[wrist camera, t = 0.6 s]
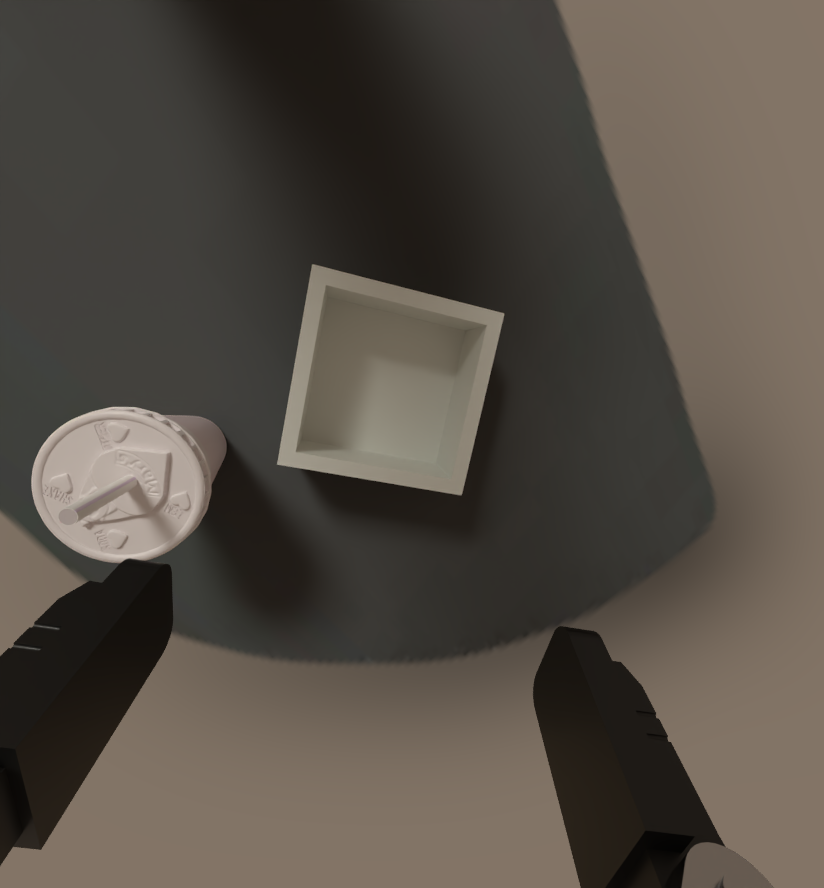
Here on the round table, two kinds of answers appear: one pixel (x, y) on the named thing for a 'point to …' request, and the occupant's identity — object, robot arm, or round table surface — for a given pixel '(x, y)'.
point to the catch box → (387, 383)
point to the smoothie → (127, 481)
